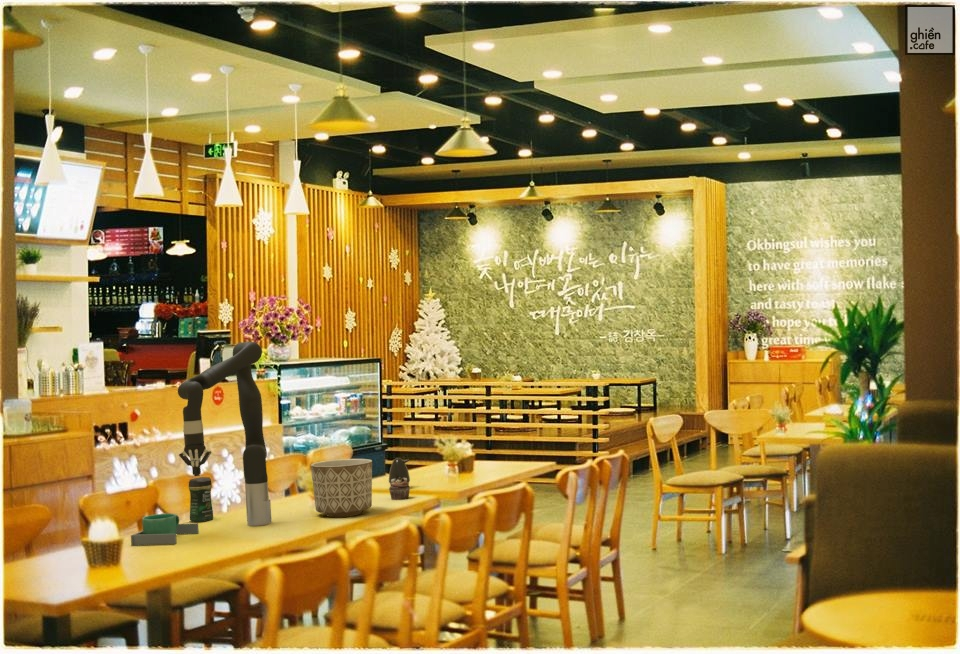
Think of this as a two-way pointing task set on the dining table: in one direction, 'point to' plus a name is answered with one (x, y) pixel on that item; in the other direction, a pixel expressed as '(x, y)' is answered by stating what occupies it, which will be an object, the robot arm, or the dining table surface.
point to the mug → (160, 524)
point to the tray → (163, 536)
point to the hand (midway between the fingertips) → (196, 475)
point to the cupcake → (399, 488)
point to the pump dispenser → (399, 469)
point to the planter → (342, 486)
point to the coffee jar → (200, 499)
